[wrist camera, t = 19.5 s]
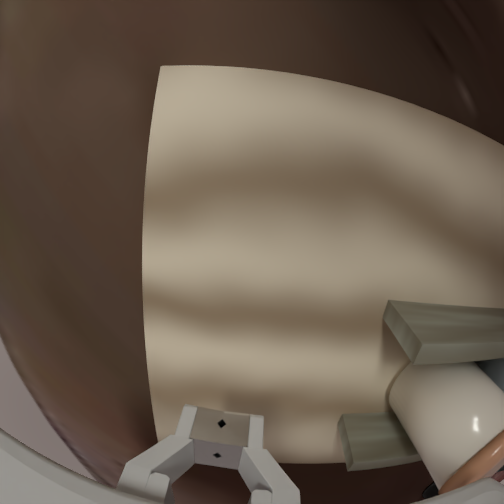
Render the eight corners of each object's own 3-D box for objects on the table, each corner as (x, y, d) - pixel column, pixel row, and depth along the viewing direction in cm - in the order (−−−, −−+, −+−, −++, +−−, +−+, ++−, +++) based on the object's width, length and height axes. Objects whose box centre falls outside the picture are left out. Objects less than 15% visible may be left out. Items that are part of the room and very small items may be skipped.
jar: (406, 347, 13) (491, 454, 5) (473, 335, 14) (550, 408, 6) (375, 419, 15) (423, 517, 7) (440, 401, 15) (493, 476, 8)
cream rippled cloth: (167, 72, 11) (121, 34, 7) (596, 218, 11) (627, 231, 6) (161, 435, 18) (144, 484, 14) (513, 417, 18) (530, 443, 13)
